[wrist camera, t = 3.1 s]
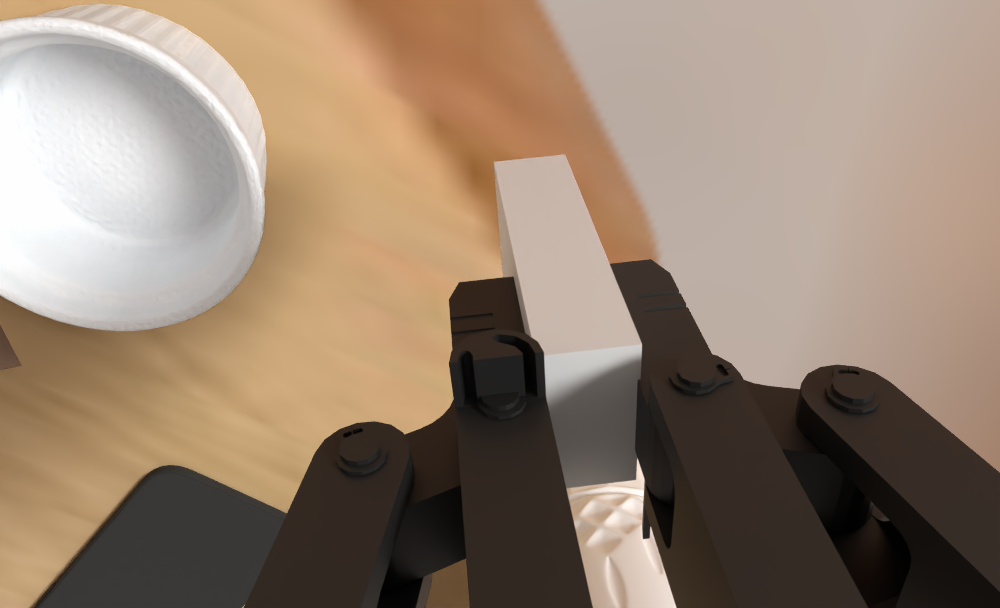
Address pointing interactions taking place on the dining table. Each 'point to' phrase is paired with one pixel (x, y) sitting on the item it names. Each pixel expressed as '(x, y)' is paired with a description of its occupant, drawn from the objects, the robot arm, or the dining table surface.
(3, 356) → the dock
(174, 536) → the phone
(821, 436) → the robot arm
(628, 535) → the white cup
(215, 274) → the ramekin
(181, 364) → the dining table surface
